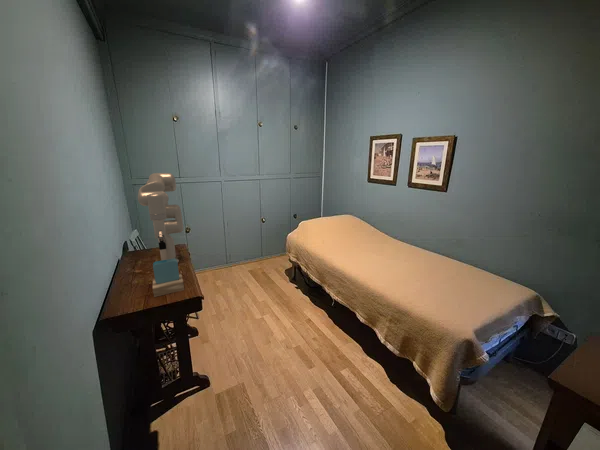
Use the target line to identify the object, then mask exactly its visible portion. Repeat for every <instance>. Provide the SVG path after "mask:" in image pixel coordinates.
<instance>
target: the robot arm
mask: <svg viewBox="0 0 600 450" xmlns="http://www.w3.org/2000/svg"><path fill="white" fill-rule="evenodd" d="M176 190H177V183H176V177H175V176H174V174H173V173H171V172H154V173H151V174H150V175H149V176H148V180H147V181H146V184H145V185H142V186H140V188H139V189H138V193H137V202H138V204H140V205H141V206H143V207H148V211H149V220H150V221H152V224H153V225H152V226H153V231H154V232H153V233H154V238H155V240H156V239H157V241H158V248H159V253H160V261H162V260H167V259H173V258H175V259H176V260H177V263H179V262H180V260H179V259H178V258H177V253H176V247H175V239H174V237H172V236H171V234H178V233H179V234H180V233H182V232H183V231H184V222H183V215H182V209H181V206H180V205H178V204H169V195H168V193H169V192H170V193H171V192H175V191H176ZM166 192H167V193H166ZM166 219H167V220H166Z"/></svg>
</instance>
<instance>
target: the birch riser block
mask: <svg viewBox="0 0 600 450" xmlns="http://www.w3.org/2000/svg"><path fill="white" fill-rule="evenodd" d="M182 274H183V273H180V272H179V279H178V280H174V281H170V282H165V283H160V284H157V283H156V282H155V278H152V293H153V298H157V297H161V296H164V295H169V294H173V293H174V294H175V293H178V292H182V291H185V285H184V279H183V275H182Z"/></svg>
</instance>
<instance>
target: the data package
mask: <svg viewBox="0 0 600 450" xmlns="http://www.w3.org/2000/svg"><path fill="white" fill-rule="evenodd" d="M176 259H177V258H176ZM176 259H175V258H173V259H167V260H162V261H161V260H158V261H157V260H156V261H154V262H153V263H152V269H153V275H154V279H155V282H156V283H157V284H160V283H165V282H170V281H174V280H178V279H179V274H180V272H179V265H178V263H179V262H178V263H177V260H176Z"/></svg>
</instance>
